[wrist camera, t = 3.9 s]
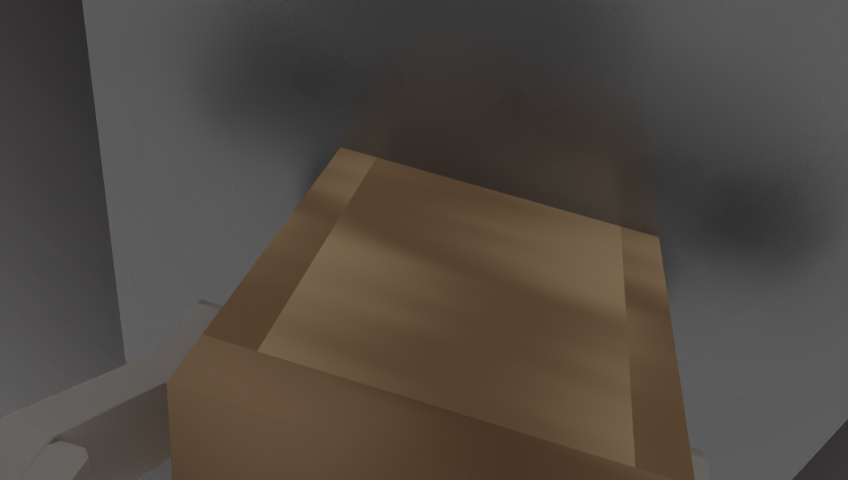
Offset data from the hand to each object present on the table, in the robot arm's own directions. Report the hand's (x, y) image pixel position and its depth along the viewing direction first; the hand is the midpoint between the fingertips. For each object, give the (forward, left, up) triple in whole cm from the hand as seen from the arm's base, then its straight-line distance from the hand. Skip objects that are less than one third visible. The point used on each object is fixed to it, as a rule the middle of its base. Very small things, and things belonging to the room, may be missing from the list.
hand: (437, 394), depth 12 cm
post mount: (0, 0, -4) cm, 4 cm away
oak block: (0, 0, -2) cm, 2 cm away
